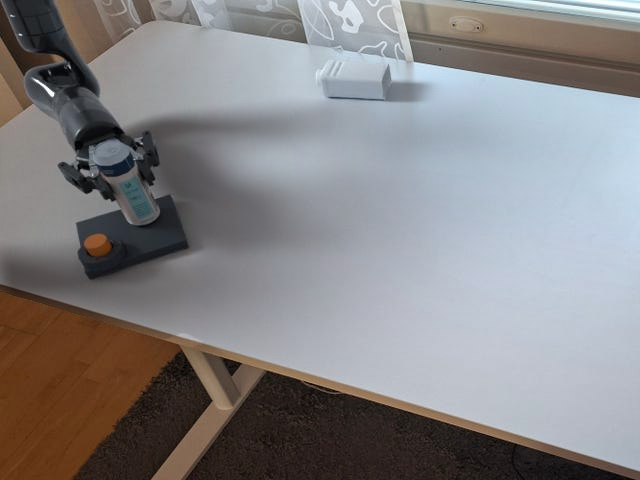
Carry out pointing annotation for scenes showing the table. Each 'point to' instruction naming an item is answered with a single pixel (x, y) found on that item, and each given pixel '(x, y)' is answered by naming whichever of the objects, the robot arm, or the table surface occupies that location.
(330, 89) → the white bottle
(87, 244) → the button
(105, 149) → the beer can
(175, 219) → the scale
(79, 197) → the table surface
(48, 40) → the robot arm
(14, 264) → the table surface
